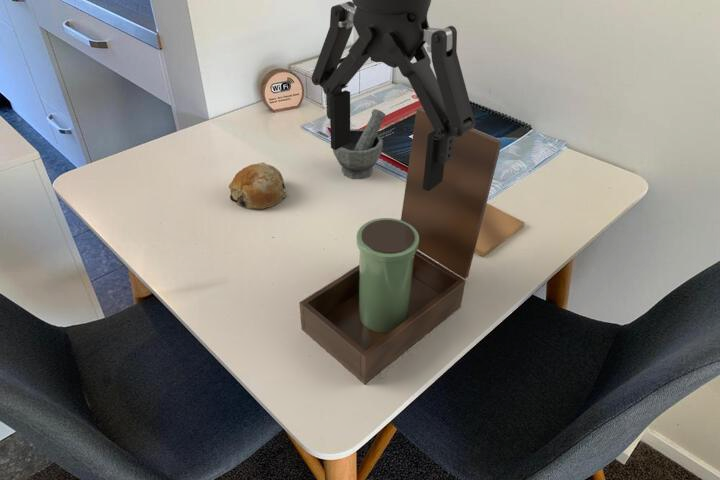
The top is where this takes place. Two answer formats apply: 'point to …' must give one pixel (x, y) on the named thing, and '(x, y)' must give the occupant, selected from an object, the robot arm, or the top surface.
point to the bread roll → (257, 187)
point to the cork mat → (495, 229)
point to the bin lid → (450, 196)
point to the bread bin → (364, 346)
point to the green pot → (385, 272)
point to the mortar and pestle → (362, 149)
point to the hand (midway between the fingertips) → (384, 164)
